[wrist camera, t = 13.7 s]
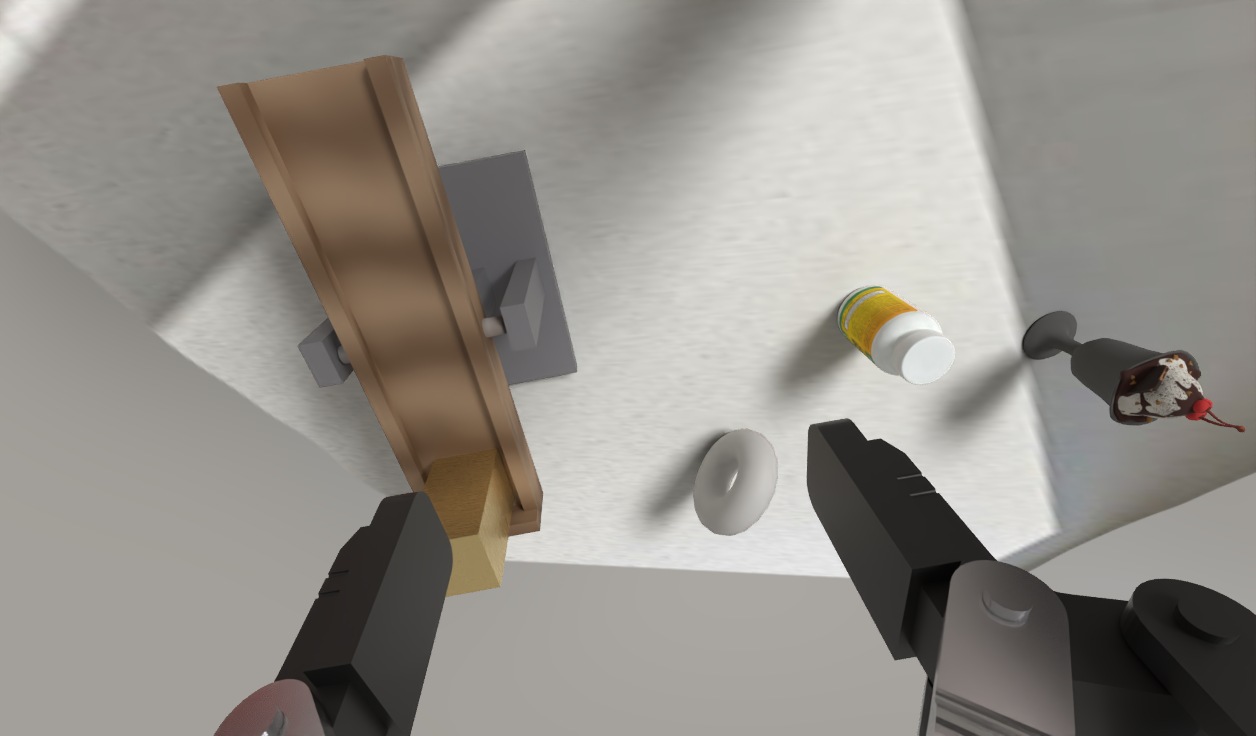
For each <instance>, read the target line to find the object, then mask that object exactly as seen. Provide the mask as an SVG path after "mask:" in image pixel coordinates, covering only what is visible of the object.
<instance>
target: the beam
mask: <svg viewBox="0 0 1256 736" xmlns="http://www.w3.org/2000/svg"><path fill="white" fill-rule="evenodd" d="M217 89H218V91H219V93H220V95H221V97H222V99H223V101H224V103H225V105H226V107H227V109H228V111H229V113H230V115H231V117H232V119H233V122H234V124H235V126H236V128H237V130H238V132H239V134H240V136H241V138H242V140H243V142H244V144H245V146H246V148H247V150H248V152H249V155H250V157H251V159H252V161H253V163H254V165H255V167H256V169H257V171H258V173H259V175H260V177H261V179H262V181H263V183H264V185H265V187H266V190H267V192H268V194H269V196H270V198H271V200H272V202H273V204H274V206H275V208H276V210H277V212H278V214H279V216H280V218H281V220H282V223H283V225H284V227H285V229H286V231H287V233H288V235H289V237H290V239H291V241H292V243H293V245H294V247H295V249H296V251H297V253H298V256H299V258H300V260H301V262H302V264H303V266H304V268H305V270H306V272H307V274H308V276H309V278H310V280H311V282H312V284H313V286H314V289H315V291H316V293H317V295H318V297H319V299H320V301H321V303H322V305H323V307H324V309H325V311H326V313H327V315H328V317H329V319H330V322H331V324H332V326H333V328H334V330H335V332H336V334H337V336H338V338H339V340H340V342H341V344H342V345H341V346H339V348H338V355H339V358H340V360H341V361H342V363H344V364H348V363H351V365H352V367H353V369H354V371H355V373H356V375H357V377H358V379H359V381H360V383H361V385H362V387H363V390H364V392H365V394H366V396H367V398H368V400H369V402H370V404H371V406H372V408H373V410H374V412H375V414H376V416H377V418H378V420H379V423H380V425H381V427H382V429H383V431H384V433H385V435H386V437H387V439H388V441H389V443H390V445H391V447H392V449H393V451H394V453H395V456H396V458H397V460H398V462H399V464H400V466H401V468H402V470H403V472H404V474H405V476H406V478H407V480H408V482H409V484H410V486H411V488H412V491H413V492H419V491H422V490H423V488H424V485H425V483H426V480H427V477H428V475H429V472H430V470H431V467H432V465H433V462H434V460H435V459H441V458H446V457H452V456H457V455H462V454H468V453H473V452H479V451H484V450H489V449H495V448H498V451H499V453H500V456H501V459H502V462H503V465H504V467H505V470H506V473H507V476H508V478H509V481H510V484H511V487H512V490H513V492H514V495H515V497H514V504H513V510H512V516H511V523H510V529H509V536H514V535H519V534H525V533H530V532H536V531H540V523H541V512H542V500H543V491H542V488H541V485H540V482H539V479H538V476H537V473H536V469H535V466H534V463H533V460H532V457H531V454H530V451H529V448H528V445H527V442H526V439H525V435H524V432H523V429H522V426H521V423H520V420H519V417H518V414H517V411H516V408H515V405H514V401H513V398H512V395H511V392H510V389H509V386H508V383H507V380H506V377H505V374H504V371H503V367H502V364H501V361H500V358H499V355H498V352H497V349H496V346H495V343H494V340H493V337H492V336H498V335H503V334H506V333H507V330H506V327H505V323H504V320H503V317H502V315H501V316H496V317H491V318H486V315H485V312H484V309H483V306H482V303H481V299H480V296H479V293H478V290H477V287H476V284H475V281H474V278H473V275H472V272H471V269H470V266H469V262H468V259H467V256H466V253H465V250H464V247H463V244H462V241H461V238H460V235H459V232H458V228H457V225H456V222H455V219H454V216H453V213H452V210H451V207H450V204H449V201H448V198H447V194H446V191H445V188H444V185H443V182H442V179H441V176H440V173H439V170H438V167H437V164H436V160H435V157H434V154H433V151H432V148H431V145H430V142H429V139H428V136H427V133H426V130H425V126H424V123H423V120H422V117H421V114H420V111H419V108H418V105H417V102H416V99H415V96H414V92H413V89H412V86H411V83H410V80H409V77H408V74H407V71H406V68H405V65H404V62H403V58H398V57H392V56H387V55H383V56H377V57H372V58H367V59H364V61H361V62H356V63H351V64H346V65H340V66H335V67H330V68H324V69H319V70H314V71H309V72H303V73H298V74H293V75H287V76H282V77H277V78H271V79H266V80H261V81H256V82H250V83H235V84H229V85H224V86H219V87H217ZM509 536H508V537H509Z"/></svg>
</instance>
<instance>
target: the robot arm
mask: <svg viewBox="0 0 1256 736" xmlns="http://www.w3.org/2000/svg"><path fill="white" fill-rule="evenodd" d="M807 487H808V493H809V497H810V500H811V503H812V506H813V508H814V510H815V512H816V514H817V516H818V518H819V520H820V521H821V523H822V525H823V527H824V529H825V531H826V533H827V534H828V536H829V538H830V540H831V542H832V544H833V546H834V548H835V549H836V551H837V553H838V555H839V557H840V559H841V561H842V563H843V564H844V566H845V568H846V570H847V572H848V574H849V576H850V577H851V579H852V581H853V583H854V585H855V587H856V589H857V591H858V592H859V594H860V596H861V598H862V600H863V602H864V604H865V606H866V607H867V609H868V611H869V613H870V615H871V617H872V619H873V620H874V622H875V624H876V626H877V628H878V630H879V632H880V633H881V635H882V637H883V639H884V641H885V643H886V645H887V646H888V648H889V650H890V652H891V654H892V656H893V658H894V660H900V659H906V658H911V657H917V658H918V660H919V661H920V663H921V665H922V666H923V669H924V670H925V672H926V674H927V677H926V681H925V686H924V693H923V700H922V707H921V713H920V719H919V726H918V733H917V736H1256V615H1255V614H1254V613H1252V612H1251V611H1250V610H1248V609H1247V608H1245V607H1244V606H1242V605H1241V604H1239V603H1238V602H1236V601H1234V600H1232V599H1230V598H1229V597H1227V596H1225V595H1223V594H1220V593H1218V592H1216V591H1214V590H1212V589H1209V588H1206V587H1204V586H1201V585H1198V584H1194V583H1190V582H1186V581H1181V580H1175V579H1154V580H1149V581H1146V582H1144V583H1142V584H1140V585H1139V586H1138V587H1137V588H1136V589H1135V591H1134V592H1133V594H1132V596H1131V598H1130V600H1129V601H1123V600H1114V599H1106V598H1097V597H1089V596H1080V595H1071V594H1065V593H1059V592H1055V591H1053V590H1052V589H1050V588H1049V587H1048V586H1047V585H1046V584H1045V583H1044V582H1042V581H1041V580H1039V579H1038V578H1037V577H1035V576H1034V575H1032V574H1030V573H1029V572H1027V571H1025V570H1023V569H1020V568H1018V567H1016V566H1013V565H1010V564H1007V563H1003V562H998V561H997V560H996V559H995V558H994V557H993V556H992V555H991V554H990V553H989V551H988V550H987V549H986V548H985V547H984V546H983V544H982V543H981V542H980V541H979V540H978V538H977V537H976V536H975V535H974V534H973V533H972V531H971V530H970V529H969V528H968V527H967V526H966V524H965V523H964V522H963V521H962V520H961V518H960V517H959V516H958V515H957V514H956V513H955V511H954V510H953V509H952V508H951V507H950V506H949V504H948V503H947V502H946V501H945V500H944V499H943V497H942V496H941V495H940V494H939V493H936V491H935V488H934V487H933V486H932V484H931V483H930V482H929V481H928V480H927V479H926V477H923V476H922V473H921V471H920V470H919V469H918V468H917V467H916V466H915V464H914V463H913V462H912V461H911V460H910V459H909V457H908V456H907V455H906V454H905V453H904V452H902V451H900V450H899V449H897V448H895V447H894V446H892V445H891V444H889V443H887V442H886V441H884V440H882V439H875V440H869V441H867V439H866V438H865V437H864V436H863V434H862V433H861V432H860V430H859V429H858V428H857V427H856V425H855V424H854V423H853V422H852V421H851V420H850V419H847V418H846V419H840V420H834V421H829V422H823V423H817V424H812V425H810V427H809V430H808V454H807ZM452 566H453V553H452V547H451V543H450V540H449V538H448V536H447V534H446V532H445V530H444V527H443V525H442V523H441V521H440V519H439V517H438V515H437V513H436V511H435V509H434V506H433V504H432V502H431V500H430V498H429V496H428V495H427V494H426V493H425V492H423V491H419V492H413V493H407V494H401V495H396V496H390V497H386V498H384V499H383V500H382V501H381V503H380V505H379V507H378V509H377V511H376V513H375V516H374V518H373V520H372V522H371V524H370V526H366V527H361V528H360V529H359V530H358V531H357V532H356V533H355V534H354V535H353V536H352V538H350V540H349V541H348V542H347V543H346V544H345V545H344V546H343V547H342V548H341V549H340V551H339V553H338V555H337V557H336V559H335V562H334V563H333V565H332V568H331V569H330V571H329V573H328V574H329V578H326V579H325V582H324V583H323V585H322V588H321V589H320V591H319V598H318V599H316V600H315V601H314V603H313V606H312V608H311V609H310V611H309V613H308V615H307V617H306V620H305V621H304V624H303V625H302V628H301V629H300V632H299V634H298V636H297V638H296V640H295V642H294V644H293V646H292V648H291V650H290V652H289V654H288V656H287V658H286V660H285V662H284V664H283V666H282V668H281V670H280V672H279V674H278V676H277V678H276V679H275V681H274V683H271V684H269V685H266V686H264V687H262V688H261V689H259V690H257V691H256V692H254V693H253V694H251V695H250V696H249V697H248V698H246V699H245V700H243V701H242V702H241V703H240V704H239V705H238V706H237V707H236V708H235V709H234V710H233V711H232V712H231V713H230V714H229V715H228V716H227V717H226V719H225V720H224V721H223V722H222V724H221V725H220V726H219V728H218V730H217V731H216V733H215V734H214V736H410V734H411V730H412V726H413V722H414V718H415V714H416V710H417V706H418V702H419V698H420V695H421V691H422V686H423V683H424V679H425V675H426V671H427V667H428V663H429V659H430V655H431V651H432V647H433V643H434V639H435V635H436V631H437V627H438V623H439V619H440V616H441V612H442V608H443V604H444V600H445V596H446V592H447V588H448V584H449V580H450V577H451V572H452Z"/></svg>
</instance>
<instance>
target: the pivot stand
mask: <svg viewBox="0 0 1256 736" xmlns="http://www.w3.org/2000/svg"><path fill="white" fill-rule="evenodd" d="M438 170H439V173H440V176H441V179H442V182H443V185H444V188H445V191H446V194H447V198H448V201H449V204H450V207H451V210H452V213H453V216H454V219H455V222H456V225H457V228H458V232H459V235H460V238H461V241H462V244H463V247H464V250H465V253H466V256H467V259H468V262H469V266H470V269H471V272H472V275H473V278H474V281H475V284H476V287H477V290H478V293H479V296H480V299H481V303H482V306H483V309H484V312H485V315H486V318H491V317H496V316H501V315H502V317H503V320H504V323H505V327H506V330H507V333H506V334H503V335H498V336H492V337H493V340H494V343H495V346H496V349H497V352H498V355H499V358H500V361H501V364H502V367H503V371H504V374H505V377H506V380H507V383H508V385H511V384H516V383H521V382H527V381H532V380H537V379H543V378H548V377H554V376H559V375H564V374H570V373H575V372H577V363H576V359H575V355H574V351H573V347H572V343H571V339H570V334H569V330H568V326H567V322H566V318H565V314H564V310H563V305H562V301H561V297H560V293H559V289H558V285H557V281H556V277H555V272H554V268H553V264H552V260H551V256H550V252H549V248H548V244H547V239H546V235H545V231H544V227H543V223H542V219H541V215H540V211H539V206H538V202H537V198H536V194H535V190H534V186H533V182H532V178H531V173H530V169H529V165H528V161H527V157H526V153H525V150H524V151H518V152H513V153H508V154H502V155H497V156H492V157H486V158H481V159H476V160H471V161H465V162H460V163H455V164H449V165H444V166H439V167H438ZM341 345H342V344H341V342H340V340H339V338H338V336H337V334H336V332H335V330H334V328H333V326H332V324H331V322H330V319H329V318H328V319H326V320H325V321H324V322H323V323H322V324H321V325H320V326H319V327H318V328H317V329H315V330H314V331H313V332H312V333H311V334H310V335H309V336H308V337H307V338H305V339H304V340H303V341H302V342H301V343H300V344H299V345H298V348H299V350H300V351H301V353H302V355H303V357H304V359H305V361H306V363H307V365H308V367H309V368H310V370H311V372H312V374H313V376H314V378H315V380H316V382H317V384H318V385H319V387H325V386H331V385H336V384H341V383H343V382H344V381H345V380H346V379H347V377H348V376H349V375H350V374H351V372H352V371H353V370H354V369H353V367H352V365H351V363H348V364H344V363H342V361H341V360H340V358H339V355H338V348H339V346H341Z"/></svg>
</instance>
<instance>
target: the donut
mask: <svg viewBox="0 0 1256 736" xmlns="http://www.w3.org/2000/svg"><path fill="white" fill-rule="evenodd" d="M737 471H738V473H737ZM736 473H737V477H736V480H735V482H734V484H733V486H732V488H731V489H730V490H729V488H730V485H731V482H732V479H733V477H734V475H735V474H736ZM777 479H778V462H777V457H776V454H775V451H774V448H773V446H772V445H771V443H770V442H769V441H768V440H767V439H766V437H765V436H763V435H762V434H761V433H758V432H755V431H752V430H749V429H740V430H734V431H731V432H729V433H728V434H726V435H724V436H723V437H721V438H720V439H719V440H718V441H717V442H716V443H715V444H714V445H713V446H712V447H711V448H710V450H709V451H708V453H707V454H706V456H705V457H704V459H703V461H702V463H701V466H700V468H699V470H698V473H697V477H696V480H695V485H694V494H693V498H694V506H695V511H696V513H697V515H698V518H699V520H700V521H701V523H702V524H703V525H704V526H705V527H706V528H708V529H709V530H710V531H712V532H713V533H715V534H719V535H727V536H731V535H735V534H738V533H741V532H743V531H746V530H747V529H748V528H749V527H751V526H752V525H753V524H754V523H755V522H757V521H758V520H759V519H760V517H761V516H762V515H763V513H764V512H765V510H766V509H767V508H768V506H769V503H770V501H771V499H772V497H773V495H774V492H775V487H776V483H777Z"/></svg>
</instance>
